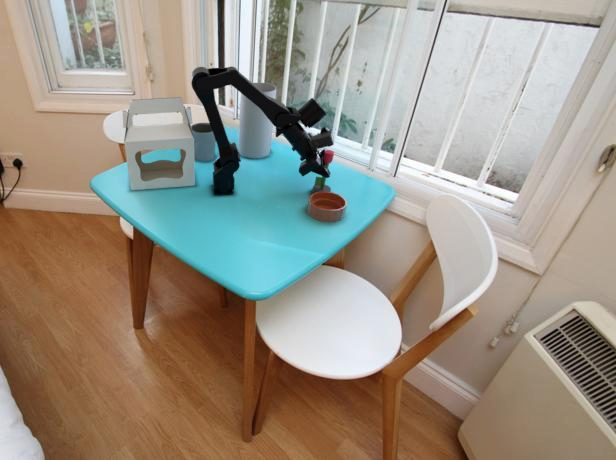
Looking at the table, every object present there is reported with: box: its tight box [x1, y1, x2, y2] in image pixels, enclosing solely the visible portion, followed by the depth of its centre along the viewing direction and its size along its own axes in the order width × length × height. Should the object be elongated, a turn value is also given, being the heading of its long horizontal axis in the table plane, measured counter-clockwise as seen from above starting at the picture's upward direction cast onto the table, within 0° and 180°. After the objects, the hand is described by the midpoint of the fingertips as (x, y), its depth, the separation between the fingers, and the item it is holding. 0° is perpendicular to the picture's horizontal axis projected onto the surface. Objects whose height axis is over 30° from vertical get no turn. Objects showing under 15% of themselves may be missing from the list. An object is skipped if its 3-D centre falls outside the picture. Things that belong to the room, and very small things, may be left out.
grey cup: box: [191, 122, 217, 163], centre depth 143 cm, size 10×10×12 cm
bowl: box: [306, 191, 348, 223], centre depth 112 cm, size 11×11×4 cm
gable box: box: [122, 96, 196, 191], centre depth 124 cm, size 22×13×28 cm, turn 96°
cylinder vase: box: [237, 82, 277, 160], centre depth 141 cm, size 12×12×25 cm
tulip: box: [311, 149, 335, 194], centre depth 118 cm, size 6×6×14 cm
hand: (329, 176), depth 118 cm, fingers closed on tulip
